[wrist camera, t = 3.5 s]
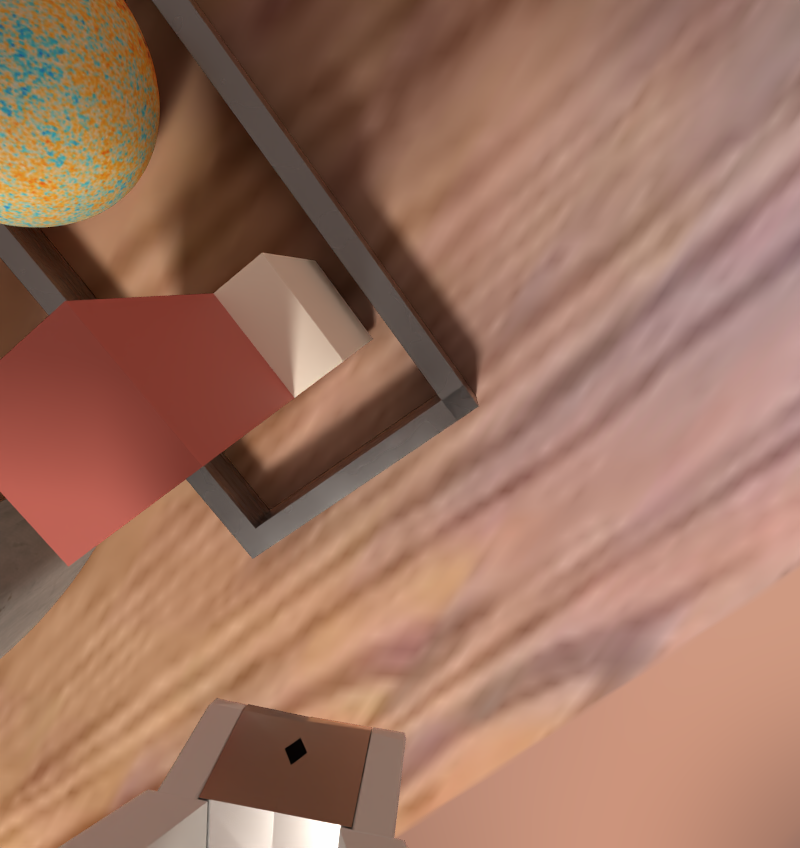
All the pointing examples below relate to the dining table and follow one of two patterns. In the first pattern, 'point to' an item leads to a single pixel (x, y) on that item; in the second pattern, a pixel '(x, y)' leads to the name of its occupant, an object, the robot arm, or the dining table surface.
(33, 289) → the dark grey rectangular frame
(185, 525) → the dining table surface
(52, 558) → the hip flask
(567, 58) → the dining table surface
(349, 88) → the dining table surface
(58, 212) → the ball
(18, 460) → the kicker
